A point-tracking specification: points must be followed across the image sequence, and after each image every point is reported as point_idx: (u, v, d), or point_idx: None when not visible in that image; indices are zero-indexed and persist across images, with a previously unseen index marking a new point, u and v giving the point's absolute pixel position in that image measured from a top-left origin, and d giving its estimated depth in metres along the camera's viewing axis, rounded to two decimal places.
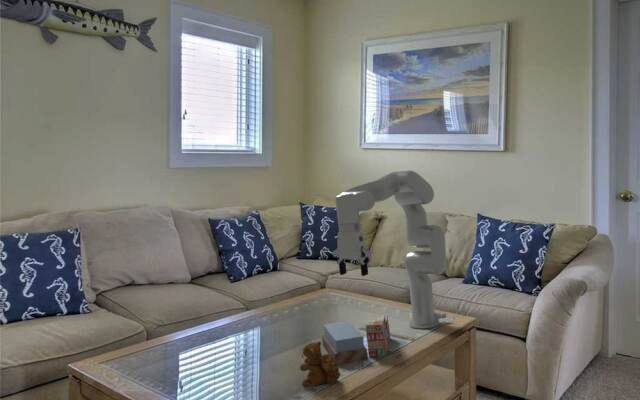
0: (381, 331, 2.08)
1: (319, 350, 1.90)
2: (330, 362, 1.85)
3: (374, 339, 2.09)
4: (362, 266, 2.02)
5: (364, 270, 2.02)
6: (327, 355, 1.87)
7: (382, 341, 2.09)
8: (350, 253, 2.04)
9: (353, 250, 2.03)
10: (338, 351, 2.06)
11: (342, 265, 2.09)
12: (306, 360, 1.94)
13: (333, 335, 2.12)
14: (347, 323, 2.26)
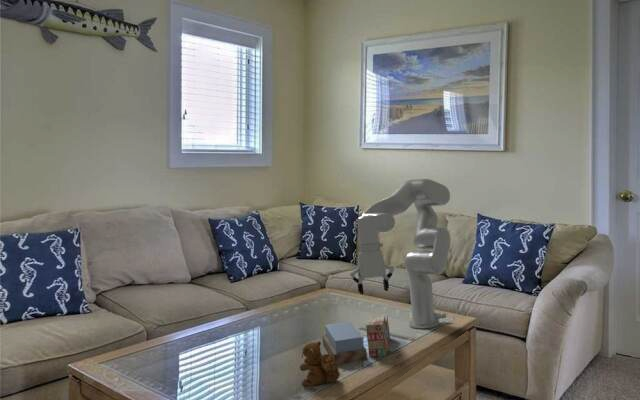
0: (381, 331, 2.09)
1: (319, 350, 1.90)
2: (330, 362, 1.85)
3: (374, 339, 2.09)
4: (386, 282, 2.18)
5: (387, 285, 2.18)
6: (327, 355, 1.87)
7: (382, 341, 2.09)
8: (376, 271, 2.16)
9: (380, 268, 2.16)
10: (338, 351, 2.06)
11: None
12: (306, 360, 1.94)
13: (333, 335, 2.13)
14: (348, 323, 2.26)
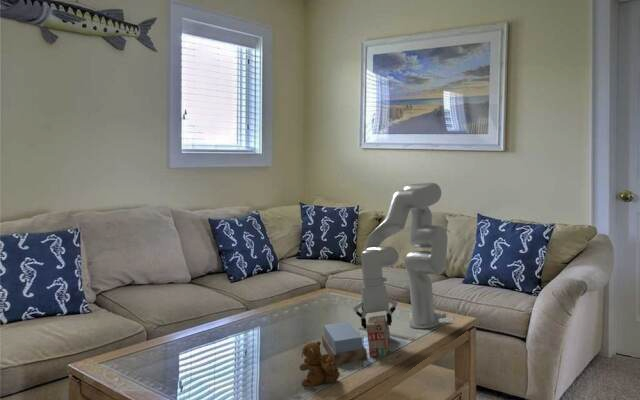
0: (382, 331, 2.09)
1: (319, 350, 1.90)
2: (329, 362, 1.85)
3: (374, 339, 2.10)
4: (390, 316, 2.18)
5: (390, 320, 2.19)
6: (326, 355, 1.88)
7: (383, 341, 2.09)
8: (379, 305, 2.16)
9: (383, 302, 2.17)
10: (337, 352, 2.06)
11: None
12: (306, 360, 1.94)
13: (332, 336, 2.12)
14: (347, 324, 2.26)
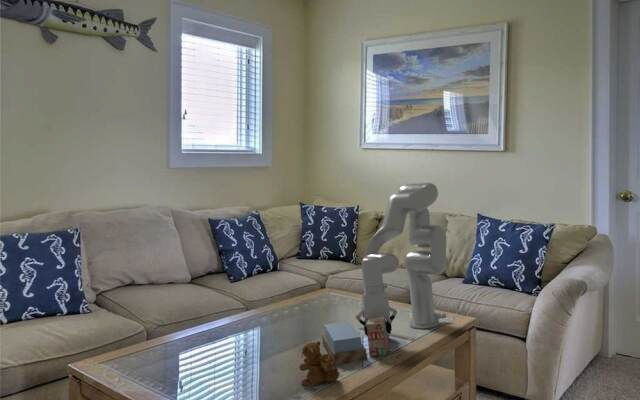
0: (382, 330, 2.09)
1: (318, 350, 1.90)
2: (329, 362, 1.85)
3: (374, 338, 2.10)
4: (389, 324, 2.19)
5: (390, 328, 2.19)
6: (326, 355, 1.88)
7: (383, 340, 2.09)
8: (380, 313, 2.17)
9: (384, 309, 2.17)
10: (336, 351, 2.06)
11: None
12: (305, 360, 1.94)
13: (332, 335, 2.13)
14: (347, 323, 2.26)
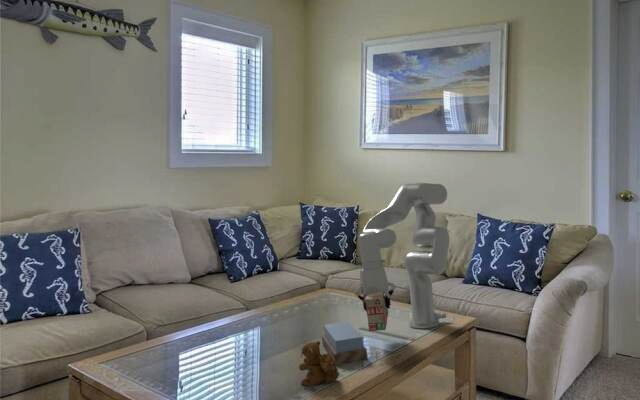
0: (381, 305, 2.09)
1: (318, 350, 1.90)
2: (329, 362, 1.85)
3: (373, 313, 2.10)
4: None
5: (389, 302, 2.19)
6: (326, 355, 1.88)
7: (382, 315, 2.09)
8: (379, 288, 2.17)
9: (382, 284, 2.17)
10: (338, 351, 2.06)
11: None
12: (305, 360, 1.94)
13: (333, 335, 2.12)
14: (347, 323, 2.26)
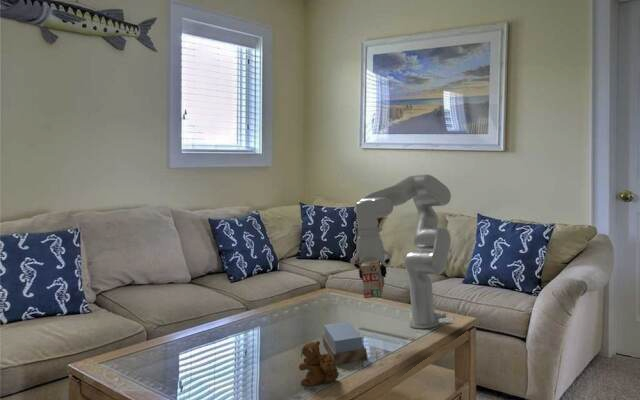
0: (376, 271, 2.08)
1: (318, 350, 1.90)
2: (328, 362, 1.85)
3: (369, 280, 2.09)
4: (384, 268, 2.18)
5: (385, 271, 2.18)
6: (325, 355, 1.88)
7: (378, 281, 2.08)
8: (375, 256, 2.16)
9: (379, 252, 2.16)
10: (337, 351, 2.06)
11: None
12: (305, 359, 1.94)
13: (333, 335, 2.12)
14: (347, 324, 2.26)
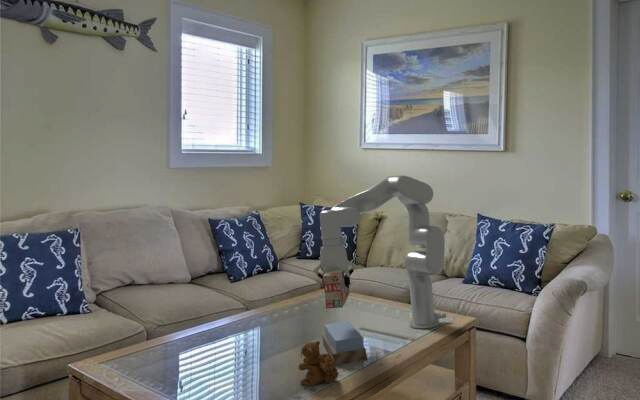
0: (338, 282, 2.06)
1: (317, 350, 1.91)
2: (328, 362, 1.85)
3: (331, 290, 2.07)
4: (348, 278, 2.16)
5: (349, 282, 2.17)
6: (325, 355, 1.88)
7: (339, 292, 2.07)
8: (339, 266, 2.14)
9: (342, 262, 2.15)
10: (338, 351, 2.06)
11: None
12: (305, 359, 1.94)
13: (333, 335, 2.12)
14: (348, 323, 2.26)
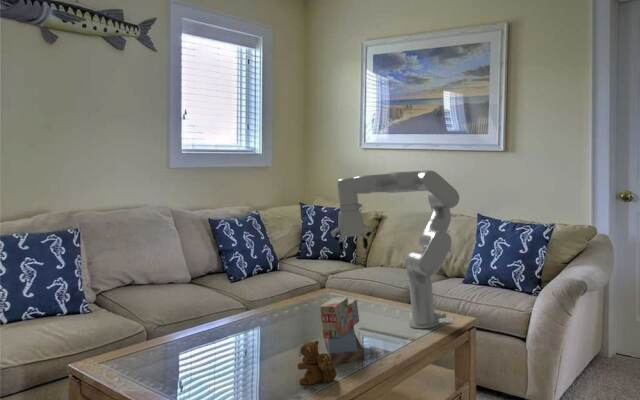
0: (334, 313, 2.08)
1: (316, 349, 1.91)
2: (326, 361, 1.86)
3: (328, 321, 2.10)
4: (365, 240, 2.31)
5: None
6: (324, 354, 1.88)
7: (335, 323, 2.08)
8: (355, 230, 2.29)
9: (359, 226, 2.30)
10: (331, 352, 2.06)
11: None
12: (304, 359, 1.95)
13: None
14: None
